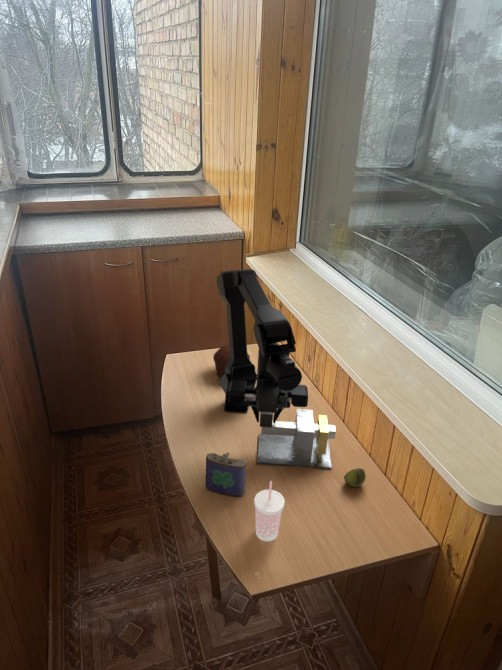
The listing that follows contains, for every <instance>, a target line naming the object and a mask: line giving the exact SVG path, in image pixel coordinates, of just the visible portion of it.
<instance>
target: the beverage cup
mask: <svg viewBox="0 0 502 670" xmlns="http://www.w3.org/2000/svg"><path fill="white" fill-rule="evenodd" d="M272 488H273V480H269V488H268V489H263V490H261V491H259V492H258V493H256V494H255V497H254V499H253V501H254V502H253V505H254V507H255V533H256V536H257V538H258V539H260V540H261V541H263V542H272V541H274V540H275V539H277V537H278V534H279V530H280V526H281V520H282V519H281V518H282V513H283V510H284V507H285V504H286V501H285V497H284V496H283V495H282V493H281V492H279V491H277V490H274V489H272Z"/></svg>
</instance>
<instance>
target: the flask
mask: <svg viewBox="0 0 502 670" xmlns="http://www.w3.org/2000/svg"><path fill="white" fill-rule="evenodd" d="M230 455H231V454H230V452H228V451H226V452H225V453H222V455H220V454H217V453H216V452H210V453H207V454H206V457H205V479H204V480H205V481H204V482H205V489H206V490H208V491H209V492H212V493H214V494H217V495H224V496H229V497H235V498H237V497H238V498H239V497H240V498H241V497H242V496H244V495H245V489H246V488H245V486H246V485H245V483H246V466H247V465H246V462H245V460H243V459H237V458H231V457H229V456H230Z"/></svg>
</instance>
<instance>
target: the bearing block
mask: <svg viewBox="0 0 502 670" xmlns="http://www.w3.org/2000/svg"><path fill="white" fill-rule="evenodd" d="M314 421H315V420H314V410H313V409H303V408H296V411H295V421H294V422H296V423H297V431H296V436H283V435H269V434H261V433H258V446H257V447H258V448H257V462H256V464H257V465H266V466H267V465H268V466H280V467H282V466H283V467H293V468H296V467H297V468H308V469H309V468H311V469H320V470H322V469H323V470H332V461H331V454H330V453H331V451H330V443H329V440H328V441H327V448H326V455H322V454H317V444H316V438H314V433H315V432H314V424H315V422H314Z"/></svg>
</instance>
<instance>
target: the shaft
mask: <svg viewBox="0 0 502 670" xmlns="http://www.w3.org/2000/svg"><path fill="white" fill-rule="evenodd" d="M273 417H274V413H271V412H259V427H260V428H261V429H260V431H261V432H260V434H269V435H283V436H296V431H297V423H296V422H295V421H294V422H293V421H280V420H276V422H275V424H273ZM328 430H329V434H328V440H335V439H336V432H337V430H336V425H333V424H328ZM314 432H315V433H314V438H319V424H318V423H314Z"/></svg>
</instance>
